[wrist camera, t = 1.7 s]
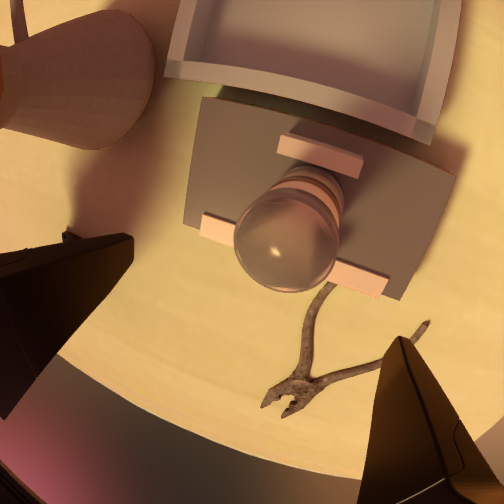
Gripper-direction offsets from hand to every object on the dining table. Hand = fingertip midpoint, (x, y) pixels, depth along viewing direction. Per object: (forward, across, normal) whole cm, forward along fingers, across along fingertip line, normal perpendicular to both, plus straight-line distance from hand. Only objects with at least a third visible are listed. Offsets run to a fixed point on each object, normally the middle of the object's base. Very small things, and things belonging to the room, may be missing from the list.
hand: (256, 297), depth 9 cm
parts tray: (+12, +2, -12) cm, 17 cm away
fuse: (+10, 0, 0) cm, 10 cm away
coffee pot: (+13, +18, -10) cm, 24 cm away
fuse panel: (+12, 0, 0) cm, 12 cm away
